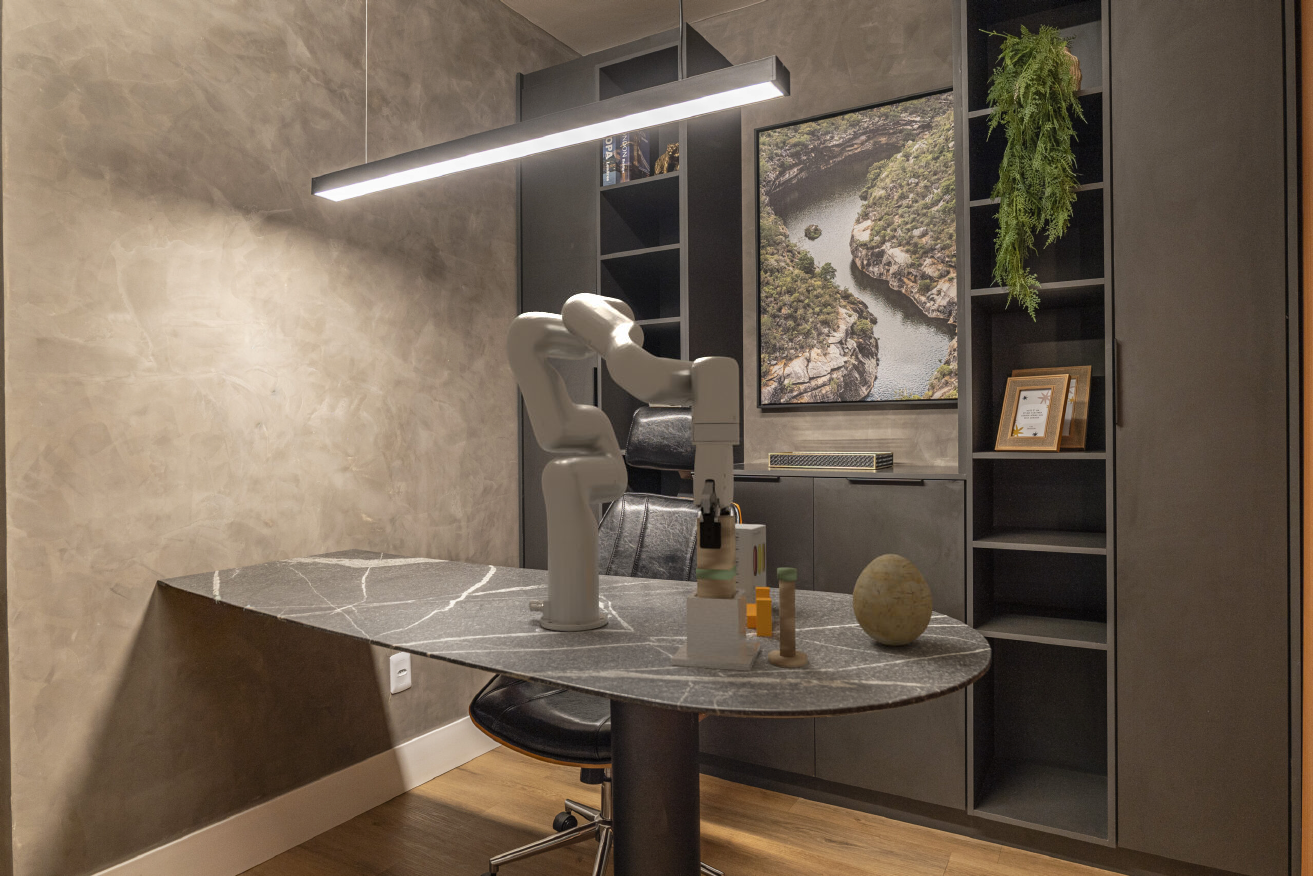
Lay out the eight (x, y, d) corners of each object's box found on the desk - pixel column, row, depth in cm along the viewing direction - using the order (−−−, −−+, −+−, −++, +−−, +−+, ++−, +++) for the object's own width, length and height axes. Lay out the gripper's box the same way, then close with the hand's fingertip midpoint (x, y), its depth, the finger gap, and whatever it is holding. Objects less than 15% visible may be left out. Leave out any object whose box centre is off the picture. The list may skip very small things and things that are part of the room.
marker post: (765, 666, 113) (765, 571, 113) (770, 655, 119) (769, 565, 119) (806, 668, 112) (805, 573, 112) (808, 657, 118) (808, 566, 118)
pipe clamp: (746, 620, 143) (746, 586, 143) (769, 621, 142) (769, 587, 142) (746, 637, 131) (746, 600, 131) (771, 637, 130) (771, 600, 130)
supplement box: (752, 615, 146) (752, 529, 146) (708, 611, 150) (708, 527, 150) (767, 605, 155) (766, 524, 155) (725, 601, 159) (724, 522, 159)
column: (696, 615, 116) (695, 518, 116) (703, 607, 122) (702, 514, 122) (731, 617, 115) (730, 519, 115) (736, 609, 120) (736, 515, 120)
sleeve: (671, 665, 114) (670, 599, 114) (688, 644, 126) (687, 584, 126) (750, 671, 111) (749, 603, 111) (760, 649, 123) (759, 587, 123)
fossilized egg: (872, 630, 134) (872, 546, 134) (944, 642, 126) (943, 553, 126) (839, 645, 124) (838, 555, 124) (914, 660, 116) (914, 562, 116)
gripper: (703, 436, 128) (703, 536, 128) (679, 435, 111) (680, 551, 111) (746, 435, 126) (747, 537, 126) (730, 435, 109) (731, 553, 109)
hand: (716, 544), depth 118 cm, fingers open, 9 cm apart
